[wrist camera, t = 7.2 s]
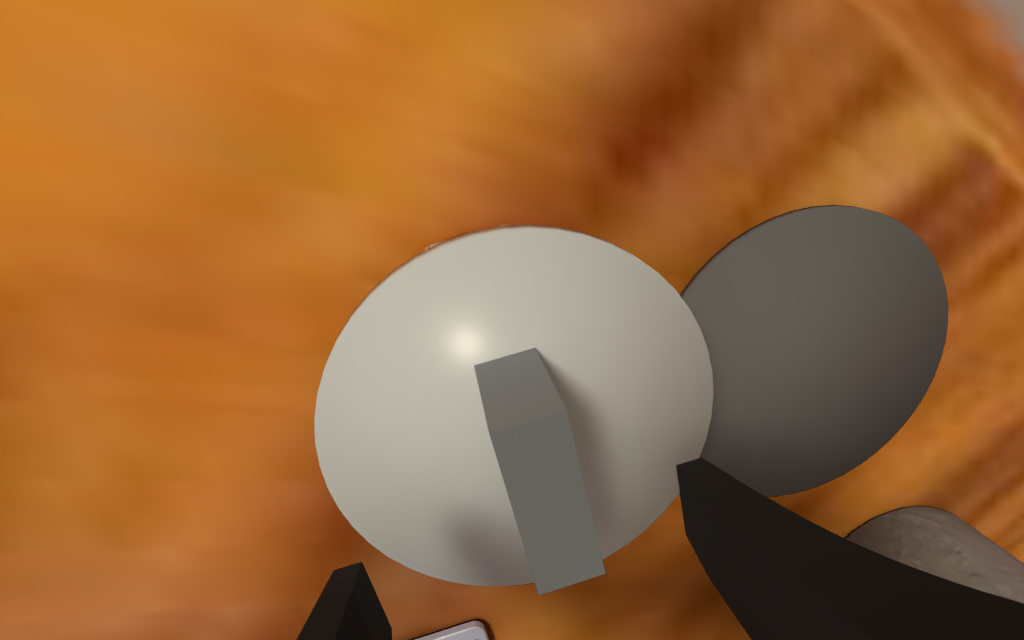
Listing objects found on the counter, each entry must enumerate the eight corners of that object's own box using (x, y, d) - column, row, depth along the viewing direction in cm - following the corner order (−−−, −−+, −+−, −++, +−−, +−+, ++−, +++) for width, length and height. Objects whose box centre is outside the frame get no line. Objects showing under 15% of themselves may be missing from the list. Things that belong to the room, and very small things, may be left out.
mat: (932, 442, 26) (939, 447, 25) (672, 525, 25) (676, 531, 25) (948, 166, 21) (958, 167, 21) (628, 257, 20) (631, 260, 20)
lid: (718, 506, 20) (796, 608, 16) (394, 610, 19) (387, 745, 15) (676, 174, 15) (770, 195, 11) (251, 292, 15) (186, 360, 10)
